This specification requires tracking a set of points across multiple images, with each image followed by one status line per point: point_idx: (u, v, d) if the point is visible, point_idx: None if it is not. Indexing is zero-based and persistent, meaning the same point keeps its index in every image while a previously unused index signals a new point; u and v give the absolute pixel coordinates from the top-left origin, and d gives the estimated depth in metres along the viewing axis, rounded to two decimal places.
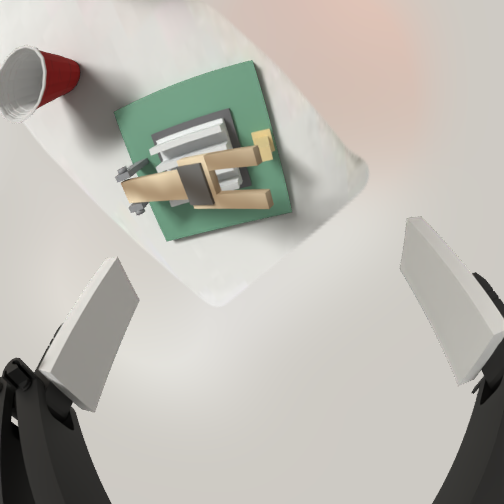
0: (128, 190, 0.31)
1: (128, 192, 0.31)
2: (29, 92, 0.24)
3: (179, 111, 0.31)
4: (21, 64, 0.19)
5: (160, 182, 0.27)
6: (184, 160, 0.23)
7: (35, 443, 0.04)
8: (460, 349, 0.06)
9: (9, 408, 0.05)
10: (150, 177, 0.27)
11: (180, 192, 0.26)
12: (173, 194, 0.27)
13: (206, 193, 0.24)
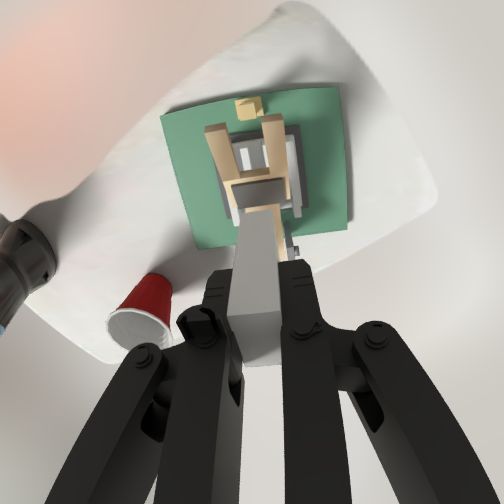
0: None
1: None
2: (156, 323, 0.44)
3: (207, 187, 0.35)
4: (126, 327, 0.41)
5: None
6: (230, 200, 0.23)
7: (196, 426, 0.05)
8: None
9: (150, 391, 0.06)
10: None
11: None
12: (273, 216, 0.26)
13: (267, 184, 0.21)
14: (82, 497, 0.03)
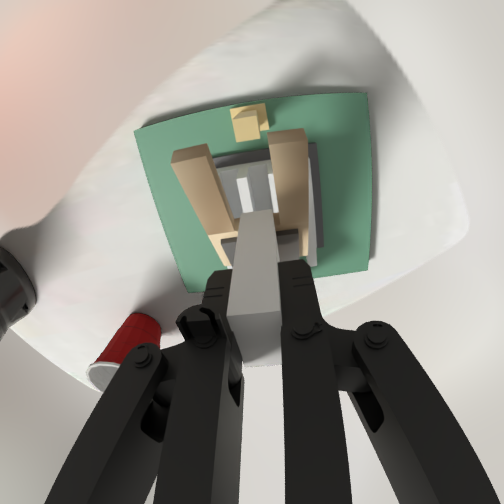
0: None
1: None
2: None
3: (196, 222, 0.28)
4: (110, 372, 0.33)
5: None
6: (221, 257, 0.16)
7: (196, 426, 0.05)
8: None
9: (150, 391, 0.06)
10: None
11: None
12: None
13: None
14: (82, 497, 0.03)
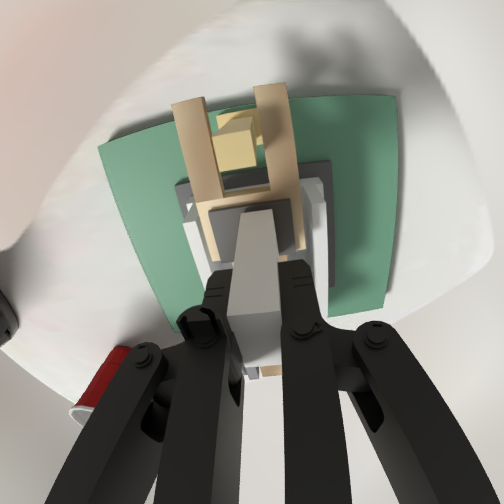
0: (275, 368, 0.21)
1: (279, 368, 0.21)
2: None
3: (179, 258, 0.23)
4: None
5: None
6: (209, 244, 0.14)
7: (196, 426, 0.05)
8: None
9: (150, 391, 0.06)
10: None
11: None
12: None
13: (267, 209, 0.13)
14: (82, 497, 0.03)
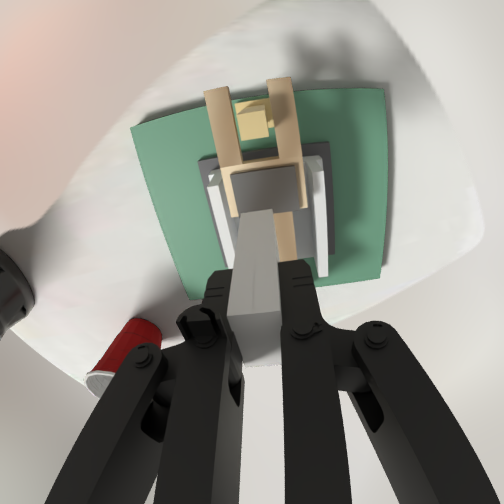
0: None
1: None
2: None
3: (198, 226, 0.26)
4: (109, 379, 0.32)
5: None
6: (229, 202, 0.18)
7: (196, 426, 0.05)
8: None
9: (150, 391, 0.06)
10: None
11: (282, 226, 0.19)
12: (285, 241, 0.19)
13: (276, 173, 0.16)
14: (82, 497, 0.03)
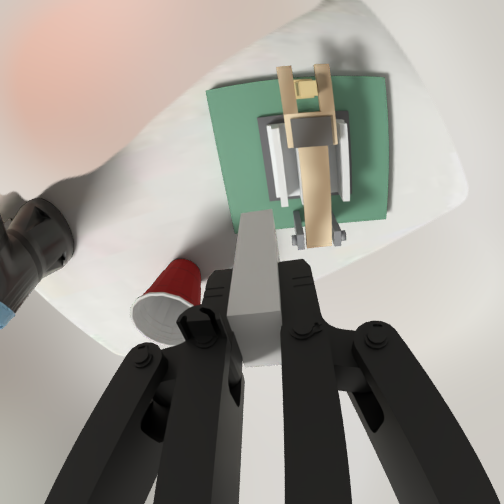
0: (317, 238, 0.31)
1: (319, 239, 0.31)
2: (182, 312, 0.43)
3: (251, 167, 0.34)
4: (150, 314, 0.40)
5: (310, 180, 0.28)
6: (287, 137, 0.25)
7: (196, 426, 0.05)
8: None
9: (150, 391, 0.06)
10: (304, 193, 0.28)
11: (321, 156, 0.26)
12: (323, 167, 0.27)
13: (319, 120, 0.24)
14: (82, 497, 0.03)
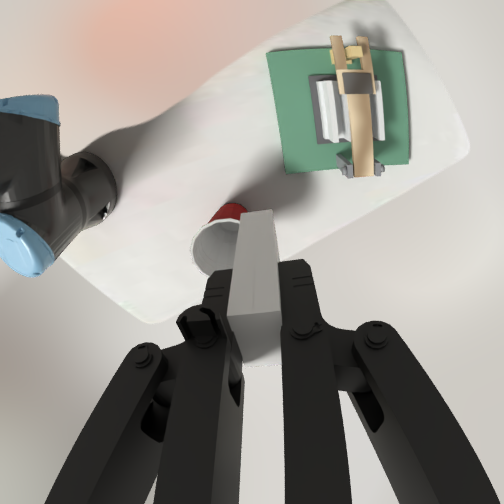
0: (362, 169, 0.35)
1: (364, 170, 0.35)
2: (234, 252, 0.46)
3: (303, 116, 0.37)
4: (205, 252, 0.43)
5: (357, 120, 0.32)
6: (340, 86, 0.29)
7: (196, 426, 0.05)
8: None
9: (150, 391, 0.06)
10: (352, 129, 0.32)
11: (364, 102, 0.30)
12: (366, 110, 0.31)
13: (363, 75, 0.28)
14: (82, 497, 0.03)
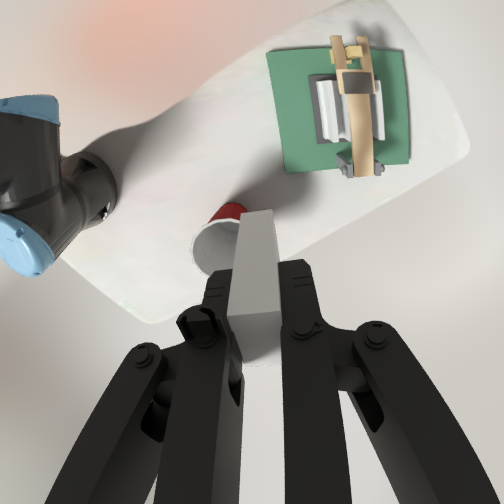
0: (362, 169, 0.35)
1: (364, 169, 0.35)
2: (234, 252, 0.46)
3: (302, 115, 0.37)
4: (205, 252, 0.43)
5: (356, 120, 0.32)
6: (340, 86, 0.29)
7: (196, 426, 0.05)
8: None
9: (150, 391, 0.06)
10: (352, 129, 0.32)
11: (364, 101, 0.30)
12: (366, 110, 0.31)
13: (362, 75, 0.28)
14: (82, 497, 0.03)
